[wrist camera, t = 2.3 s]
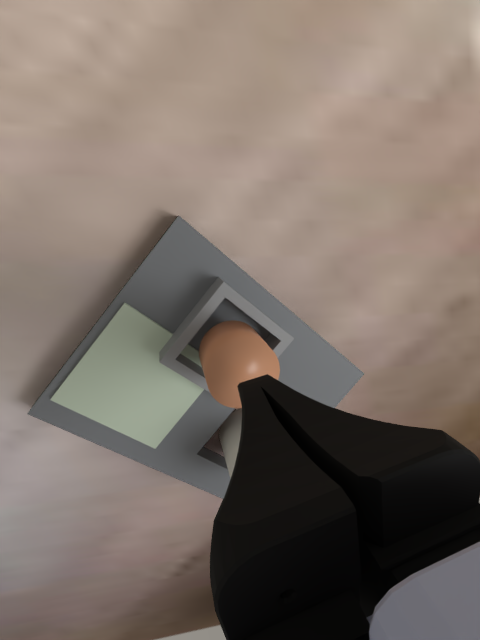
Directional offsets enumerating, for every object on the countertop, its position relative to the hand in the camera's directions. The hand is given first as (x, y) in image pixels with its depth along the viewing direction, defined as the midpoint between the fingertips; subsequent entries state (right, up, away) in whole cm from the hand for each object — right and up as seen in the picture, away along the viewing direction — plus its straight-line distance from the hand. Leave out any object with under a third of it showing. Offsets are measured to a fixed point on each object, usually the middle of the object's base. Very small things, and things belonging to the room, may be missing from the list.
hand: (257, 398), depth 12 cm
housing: (-2, -1, +8) cm, 9 cm away
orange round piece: (-1, +2, +5) cm, 5 cm away
